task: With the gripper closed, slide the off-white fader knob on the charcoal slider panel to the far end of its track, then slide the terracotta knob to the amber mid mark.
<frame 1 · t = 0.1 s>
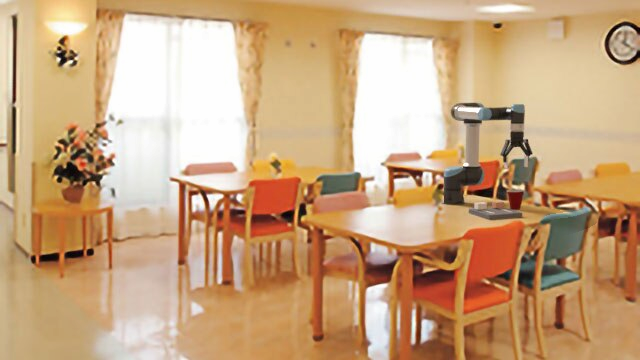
hand: (516, 167, 378), 28 cm above the table, fingers open, 13 cm apart
fader a: (480, 205, 384), point 5 cm above the table, slide at 0.0 cm
plastic cup: (514, 209, 399), on the table
slider panel: (494, 214, 381), on the table
fader b: (498, 204, 388), point 5 cm above the table, slide at 0.0 cm
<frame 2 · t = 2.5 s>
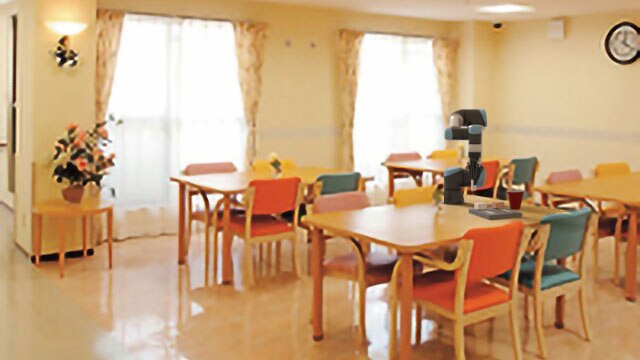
hand: (473, 190, 390), 13 cm above the table, fingers closed
nothing on the table moved.
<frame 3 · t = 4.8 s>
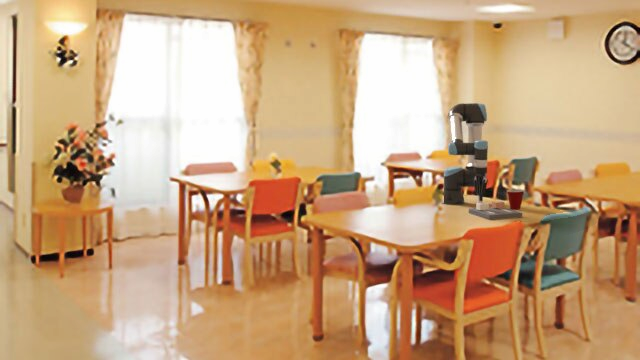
hand: (479, 206, 385), 4 cm above the table, fingers closed
fader a: (482, 206, 382), point 5 cm above the table, slide at 2.0 cm, touching gripper
everything else where it was.
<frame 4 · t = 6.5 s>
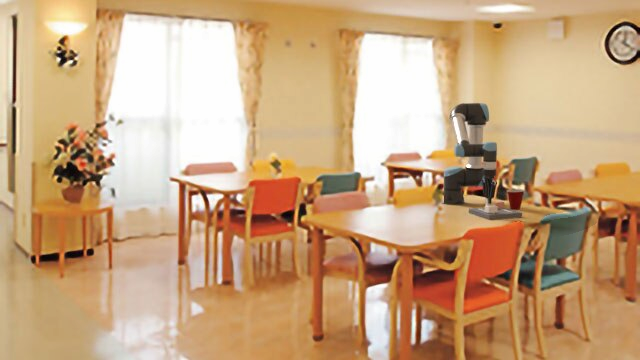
hand: (488, 209, 376), 4 cm above the table, fingers closed
fader a: (491, 209, 373), point 5 cm above the table, slide at 11.1 cm, touching gripper
everything else where it was.
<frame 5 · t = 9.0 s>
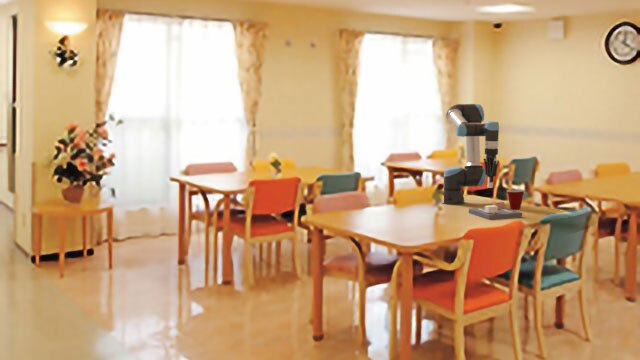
hand: (490, 187, 384), 16 cm above the table, fingers closed
fader a: (491, 209, 373), point 5 cm above the table, slide at 11.2 cm
everything else where it was.
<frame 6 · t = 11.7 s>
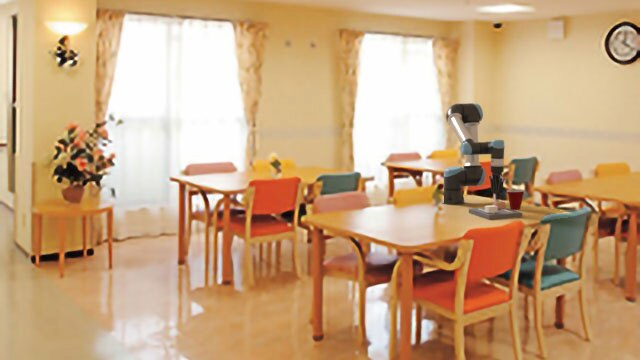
hand: (496, 204, 389), 4 cm above the table, fingers closed
fader b: (498, 204, 387), point 5 cm above the table, slide at 0.8 cm, touching gripper
everything else where it was.
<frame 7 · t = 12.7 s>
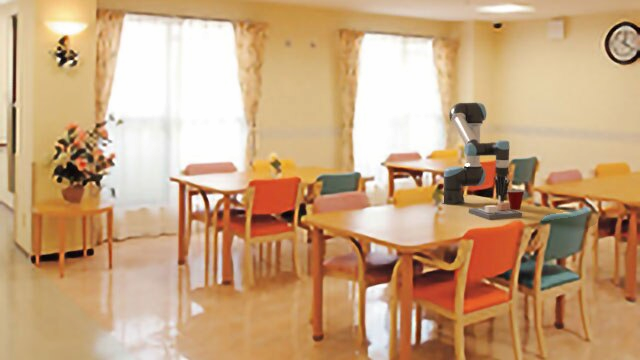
hand: (500, 206, 385), 4 cm above the table, fingers closed
fader b: (503, 206, 382), point 5 cm above the table, slide at 5.7 cm, touching gripper
everything else where it was.
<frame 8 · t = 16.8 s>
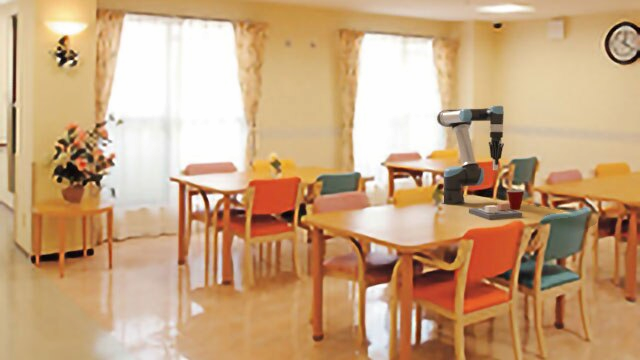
hand: (495, 169, 396), 24 cm above the table, fingers closed
fader b: (503, 206, 382), point 5 cm above the table, slide at 5.7 cm
everything else where it was.
at the end: fader a slide at 11.2 cm; fader b slide at 5.7 cm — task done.
